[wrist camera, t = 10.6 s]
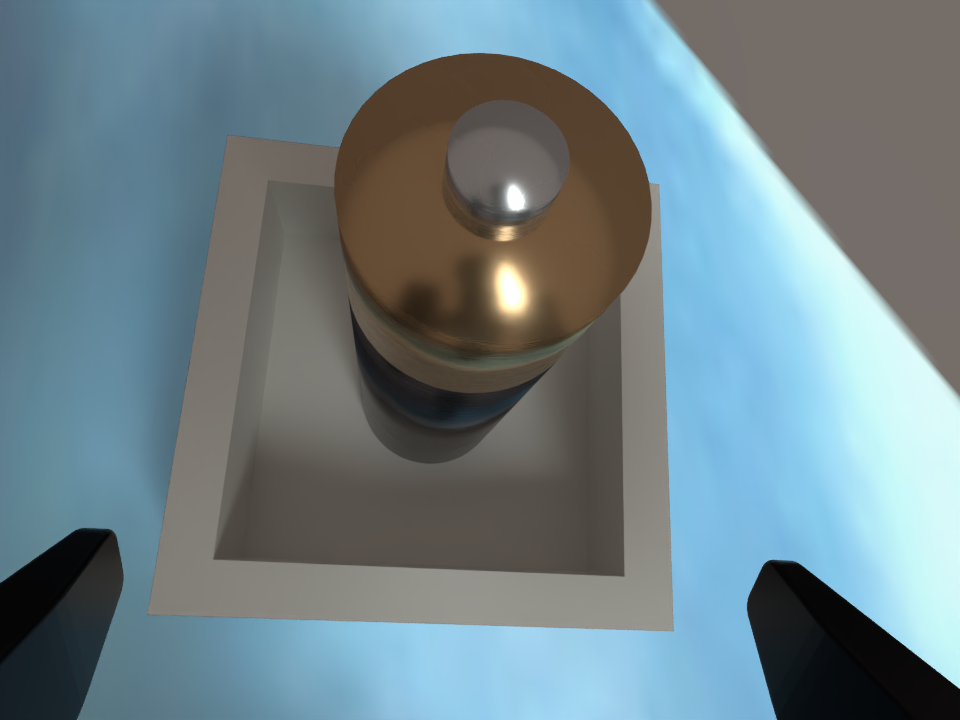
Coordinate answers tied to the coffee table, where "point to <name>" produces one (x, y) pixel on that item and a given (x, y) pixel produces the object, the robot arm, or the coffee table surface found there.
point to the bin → (386, 476)
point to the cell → (479, 240)
